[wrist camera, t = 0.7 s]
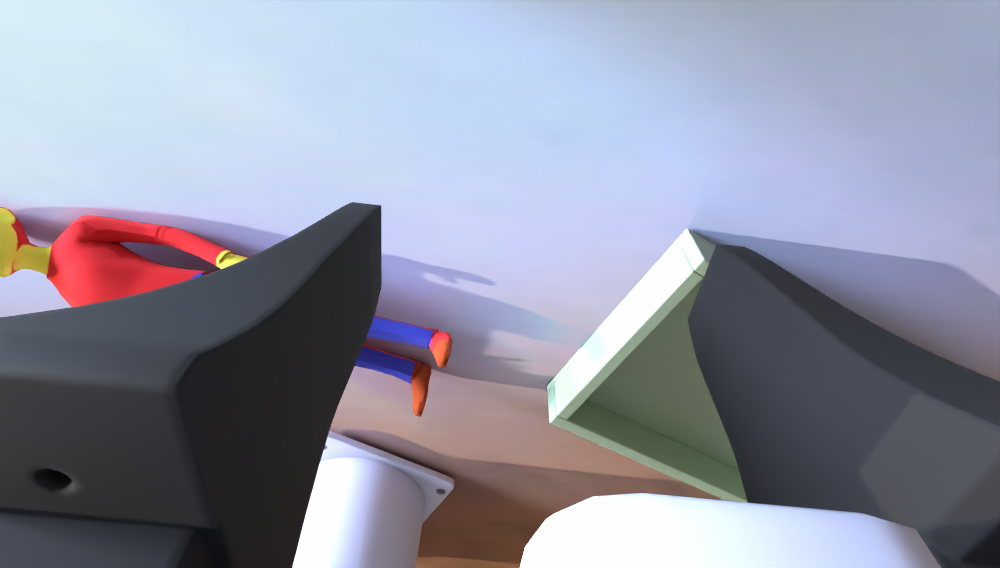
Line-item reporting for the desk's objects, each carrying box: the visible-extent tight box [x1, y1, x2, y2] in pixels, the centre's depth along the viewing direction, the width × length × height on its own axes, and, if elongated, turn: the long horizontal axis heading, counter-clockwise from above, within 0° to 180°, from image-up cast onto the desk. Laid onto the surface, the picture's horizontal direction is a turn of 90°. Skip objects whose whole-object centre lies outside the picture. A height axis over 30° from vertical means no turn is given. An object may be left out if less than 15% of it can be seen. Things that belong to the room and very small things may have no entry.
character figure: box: [0, 207, 452, 417], centre depth 22 cm, size 6×4×20 cm
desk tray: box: [547, 229, 748, 503], centre depth 26 cm, size 10×17×2 cm, turn 59°
